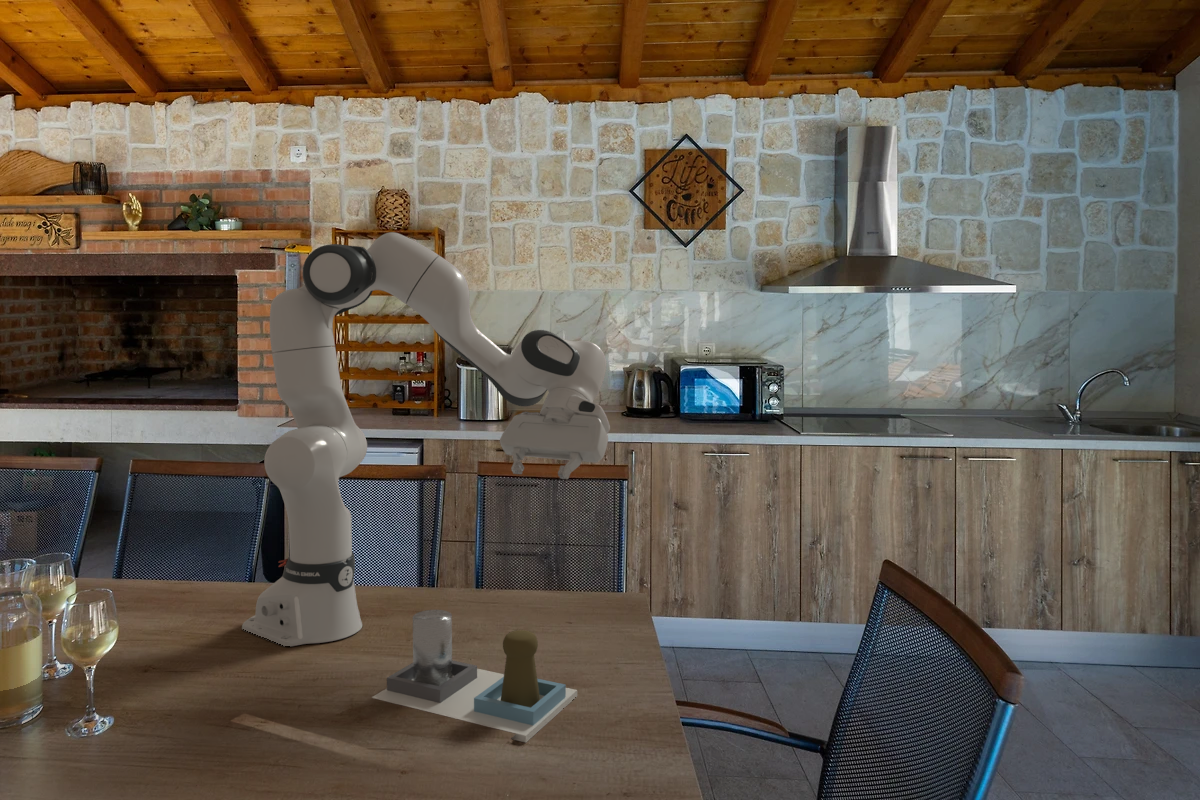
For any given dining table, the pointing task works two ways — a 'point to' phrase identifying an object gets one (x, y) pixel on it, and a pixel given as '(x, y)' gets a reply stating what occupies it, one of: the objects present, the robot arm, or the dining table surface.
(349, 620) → the robot arm
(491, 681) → the pallet board
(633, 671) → the dining table surface
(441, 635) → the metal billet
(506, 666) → the cork
